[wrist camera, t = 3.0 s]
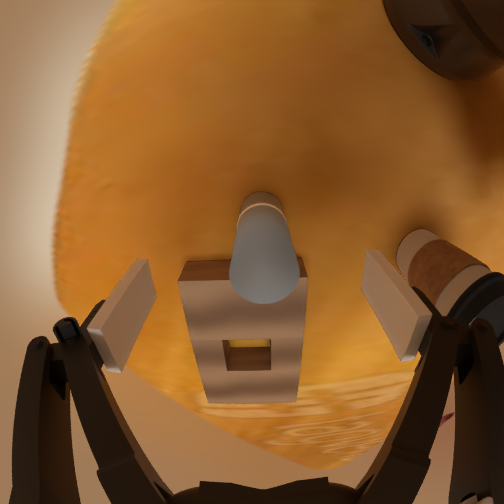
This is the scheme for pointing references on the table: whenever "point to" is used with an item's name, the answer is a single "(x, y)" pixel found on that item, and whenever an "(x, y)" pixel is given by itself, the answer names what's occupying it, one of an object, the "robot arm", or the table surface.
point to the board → (242, 336)
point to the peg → (263, 252)
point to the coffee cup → (453, 280)
